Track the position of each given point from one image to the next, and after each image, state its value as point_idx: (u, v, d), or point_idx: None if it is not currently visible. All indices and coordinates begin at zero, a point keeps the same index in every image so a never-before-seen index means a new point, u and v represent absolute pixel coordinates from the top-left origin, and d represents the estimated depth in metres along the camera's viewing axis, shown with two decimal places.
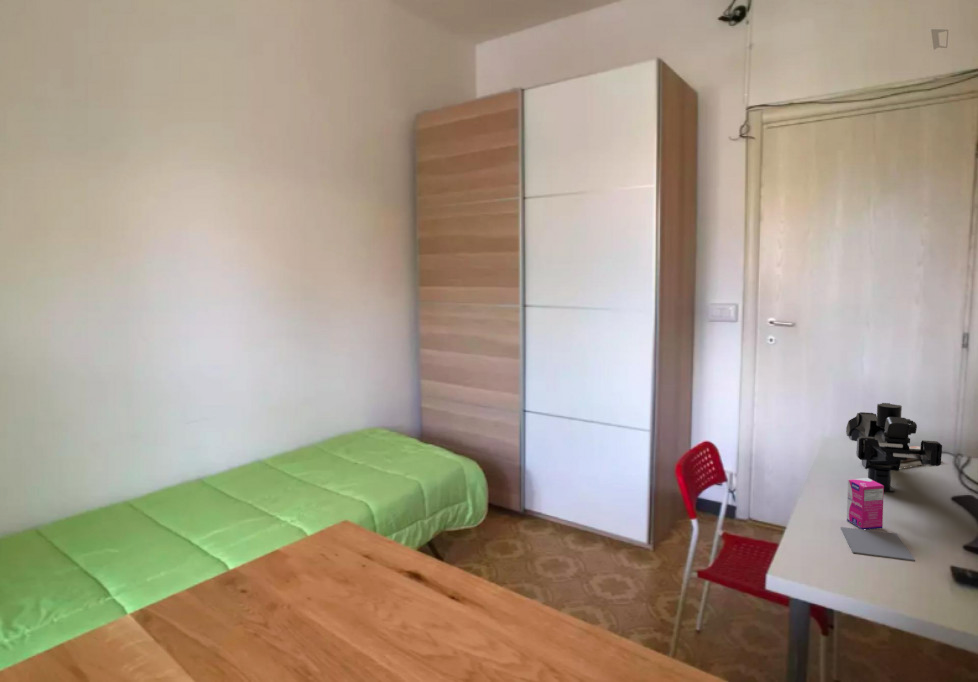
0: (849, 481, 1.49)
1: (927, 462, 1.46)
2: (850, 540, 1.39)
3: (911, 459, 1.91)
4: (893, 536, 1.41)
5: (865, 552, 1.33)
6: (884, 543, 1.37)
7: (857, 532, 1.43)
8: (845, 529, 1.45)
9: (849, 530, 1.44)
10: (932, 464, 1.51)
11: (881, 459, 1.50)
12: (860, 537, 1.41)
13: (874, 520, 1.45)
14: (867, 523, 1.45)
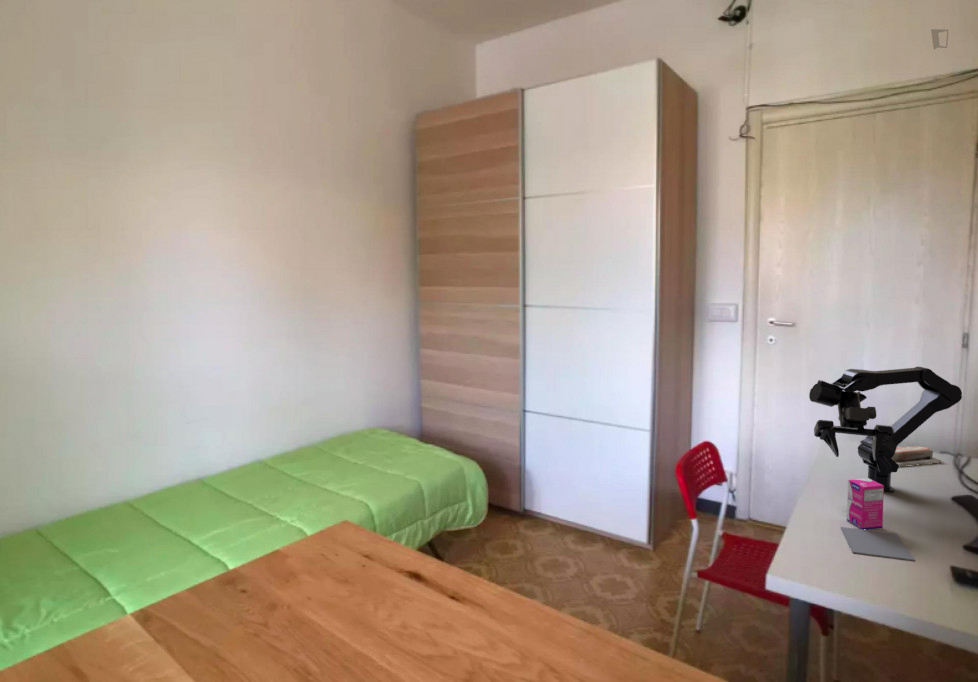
0: (849, 481, 1.49)
1: (874, 458, 1.59)
2: (850, 540, 1.39)
3: (908, 458, 1.92)
4: (893, 536, 1.41)
5: (865, 552, 1.33)
6: (884, 543, 1.37)
7: (857, 532, 1.43)
8: (845, 529, 1.45)
9: (849, 530, 1.44)
10: (880, 444, 1.63)
11: (833, 452, 1.63)
12: (860, 537, 1.41)
13: (874, 520, 1.45)
14: (867, 523, 1.45)
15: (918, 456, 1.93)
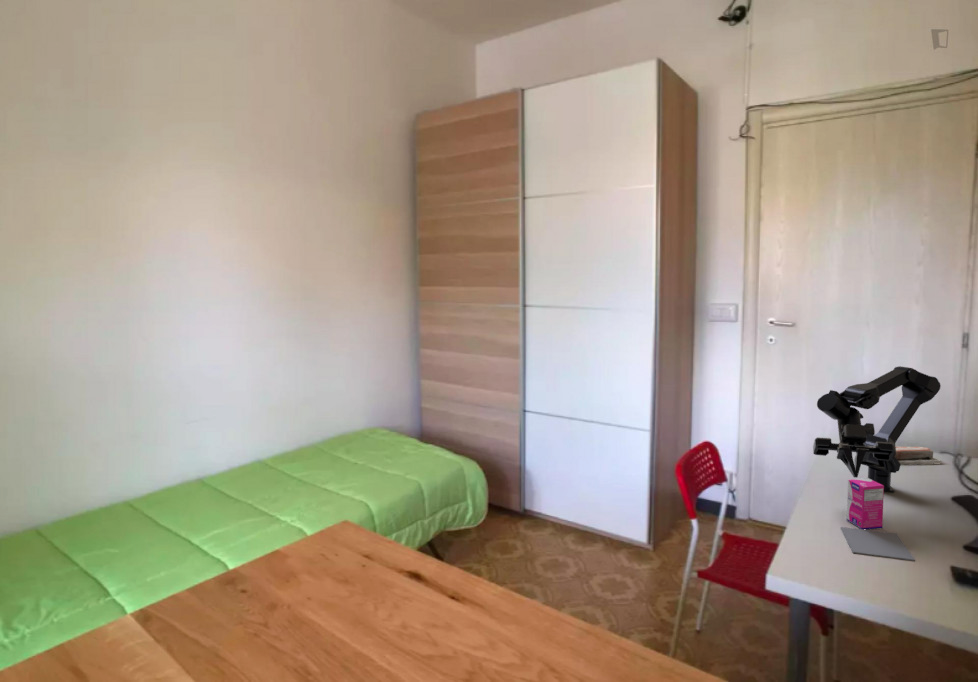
0: (849, 481, 1.49)
1: None
2: (850, 540, 1.39)
3: (904, 457, 1.93)
4: (893, 536, 1.41)
5: (865, 552, 1.33)
6: (884, 543, 1.37)
7: (857, 532, 1.43)
8: (845, 529, 1.45)
9: (849, 530, 1.44)
10: (863, 460, 1.60)
11: None
12: (860, 537, 1.41)
13: (874, 520, 1.45)
14: (867, 523, 1.45)
15: (916, 456, 1.93)
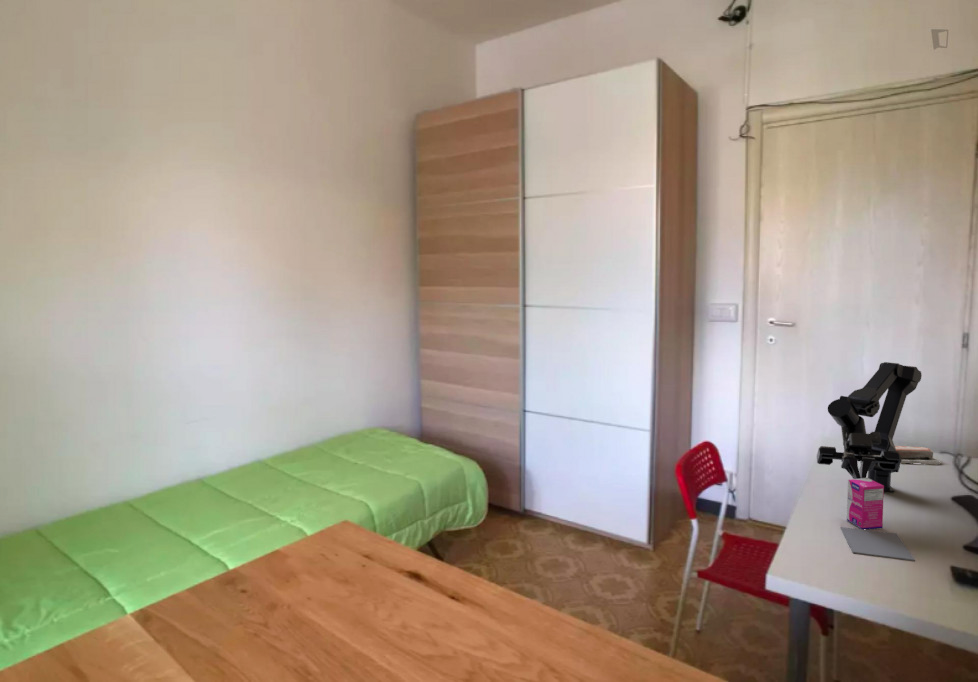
0: (849, 481, 1.49)
1: None
2: (850, 540, 1.39)
3: (901, 456, 1.94)
4: (893, 536, 1.41)
5: (865, 552, 1.33)
6: (884, 543, 1.37)
7: (857, 532, 1.43)
8: (845, 529, 1.45)
9: (849, 530, 1.44)
10: (868, 470, 1.55)
11: None
12: (860, 537, 1.41)
13: (874, 520, 1.45)
14: (867, 523, 1.45)
15: (914, 456, 1.93)
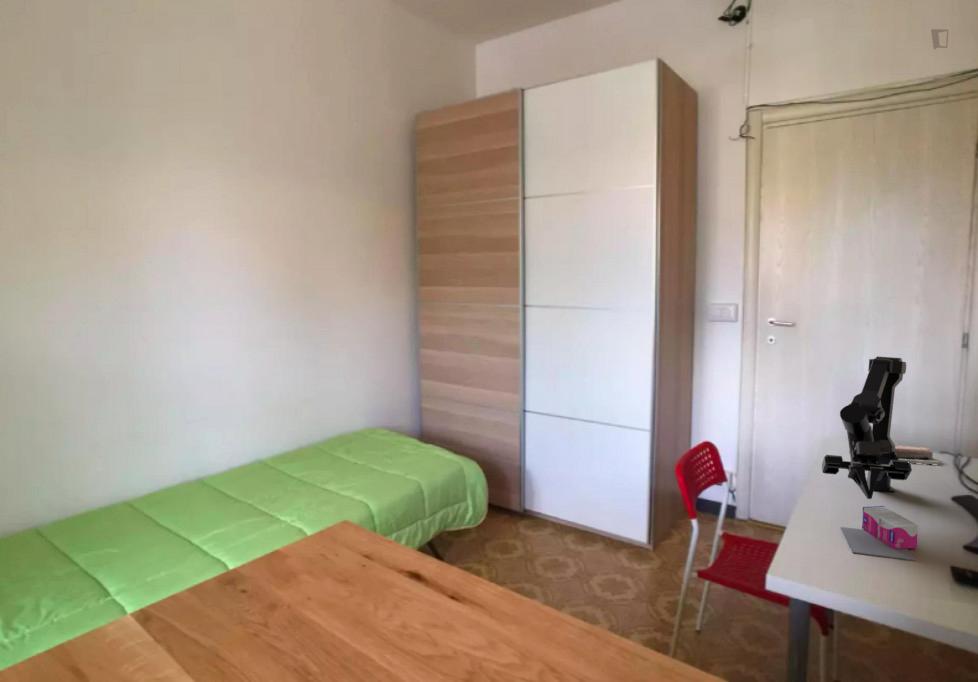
0: (894, 528, 1.34)
1: None
2: (850, 540, 1.39)
3: (899, 456, 1.95)
4: None
5: (865, 552, 1.33)
6: (884, 543, 1.37)
7: (857, 532, 1.43)
8: (845, 529, 1.45)
9: (849, 530, 1.44)
10: (877, 480, 1.47)
11: (864, 493, 1.45)
12: (860, 537, 1.41)
13: None
14: None
15: (912, 455, 1.94)
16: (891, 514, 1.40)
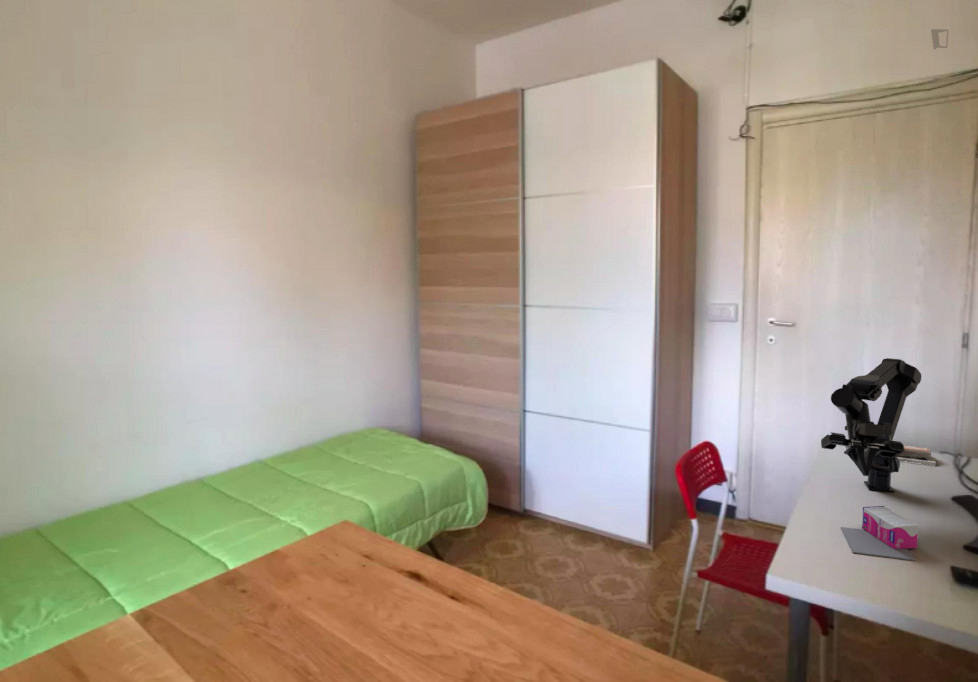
0: (894, 528, 1.34)
1: None
2: (850, 540, 1.39)
3: None
4: None
5: (865, 552, 1.33)
6: (884, 543, 1.37)
7: (857, 532, 1.43)
8: (845, 529, 1.45)
9: (849, 530, 1.44)
10: None
11: (860, 470, 1.53)
12: (860, 537, 1.41)
13: None
14: None
15: (910, 455, 1.94)
16: (891, 514, 1.40)
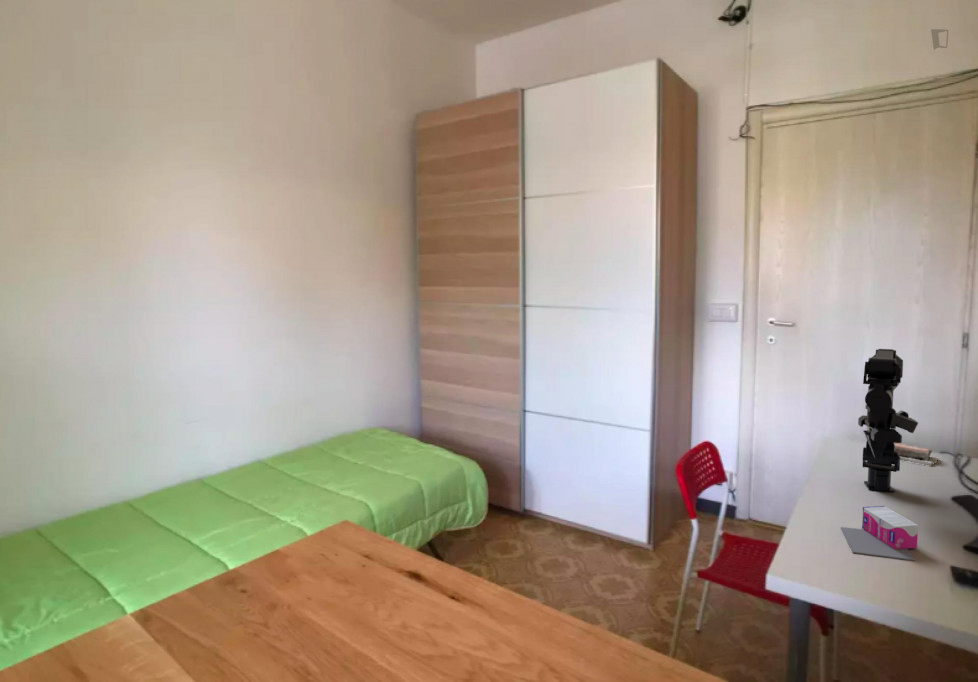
0: (894, 528, 1.34)
1: None
2: (850, 540, 1.39)
3: None
4: None
5: (865, 552, 1.33)
6: (884, 543, 1.37)
7: (857, 532, 1.43)
8: (845, 529, 1.45)
9: (849, 530, 1.44)
10: None
11: (875, 453, 1.59)
12: (860, 537, 1.41)
13: None
14: None
15: (908, 454, 1.95)
16: (891, 514, 1.40)
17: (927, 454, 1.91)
